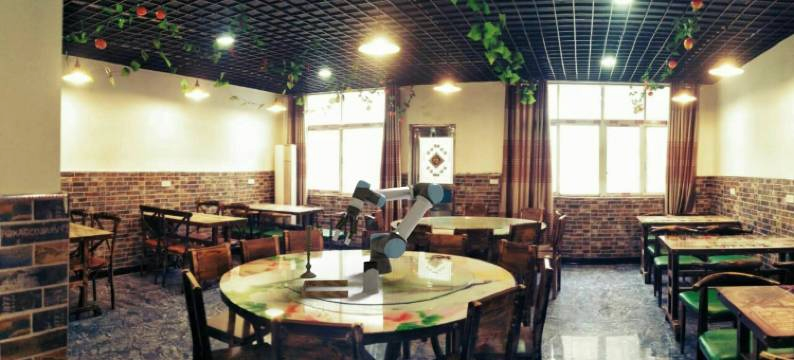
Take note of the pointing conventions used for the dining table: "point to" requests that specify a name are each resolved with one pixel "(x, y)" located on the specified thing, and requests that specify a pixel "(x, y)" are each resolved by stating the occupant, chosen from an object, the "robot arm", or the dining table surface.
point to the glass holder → (370, 277)
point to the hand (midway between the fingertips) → (340, 242)
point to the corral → (324, 293)
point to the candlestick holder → (308, 256)
